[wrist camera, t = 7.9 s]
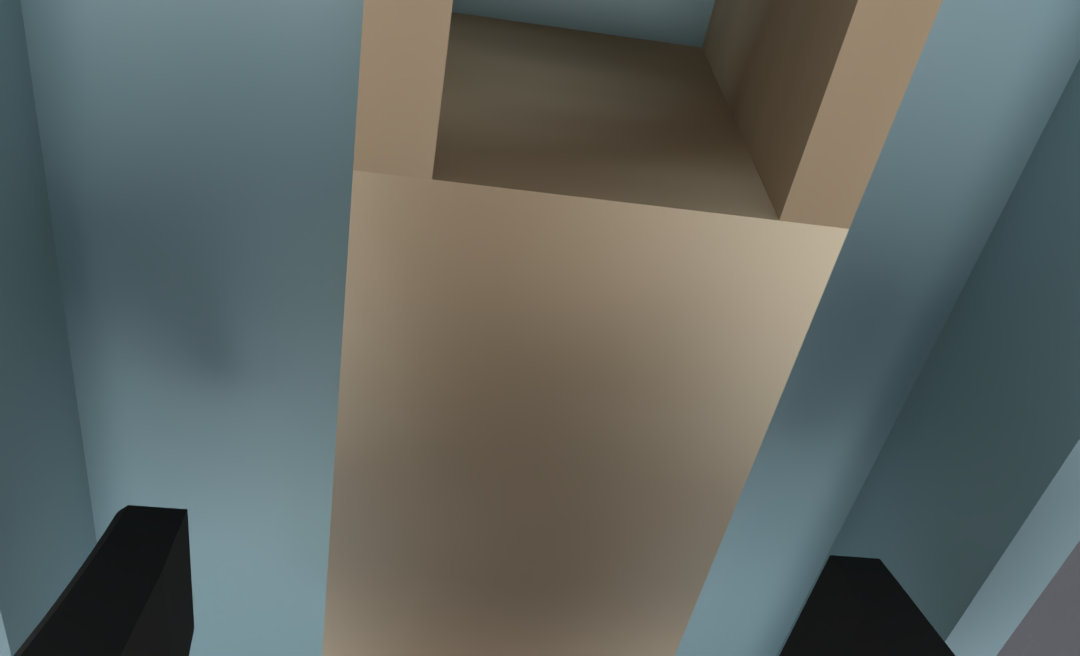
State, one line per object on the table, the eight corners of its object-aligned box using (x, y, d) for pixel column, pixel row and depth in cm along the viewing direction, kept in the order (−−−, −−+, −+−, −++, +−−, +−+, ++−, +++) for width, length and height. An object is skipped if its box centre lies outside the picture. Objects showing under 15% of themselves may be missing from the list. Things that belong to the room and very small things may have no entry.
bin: (753, 743, 21) (797, 931, 18) (86, 715, 19) (20, 919, 16) (1502, -663, 8) (2019, -757, 6) (-243, -1145, 6) (-780, -1650, 4)
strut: (867, -308, 9) (1038, -236, 6) (586, 607, 17) (608, 817, 14) (414, -397, 9) (387, -358, 6) (338, 591, 16) (312, 808, 14)
